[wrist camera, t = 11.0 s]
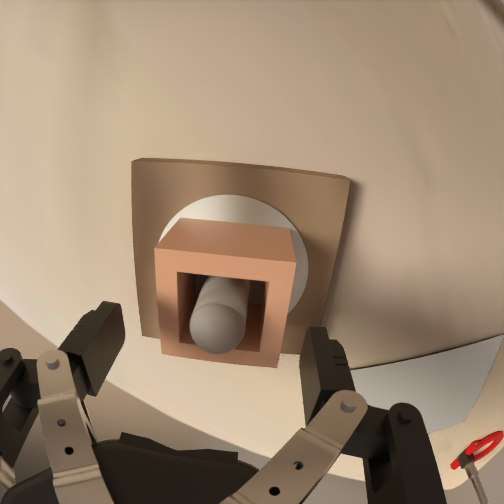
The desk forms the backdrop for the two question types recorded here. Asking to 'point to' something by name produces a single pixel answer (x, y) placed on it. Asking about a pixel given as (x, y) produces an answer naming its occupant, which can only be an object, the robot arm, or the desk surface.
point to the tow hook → (468, 459)
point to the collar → (225, 265)
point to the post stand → (239, 211)
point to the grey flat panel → (431, 383)
